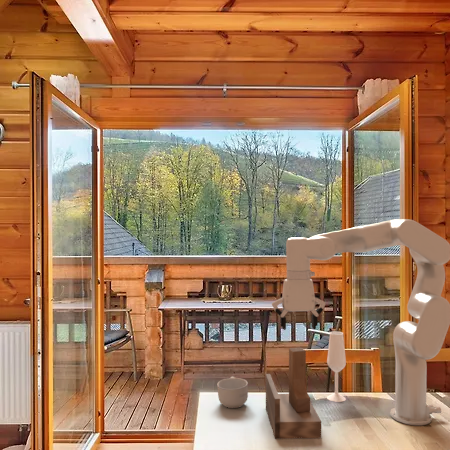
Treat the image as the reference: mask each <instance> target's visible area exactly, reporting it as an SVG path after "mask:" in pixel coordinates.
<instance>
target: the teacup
mask: <svg viewBox="0 0 450 450" xmlns="http://www.w3.org/2000/svg"><path fill="white" fill-rule="evenodd" d="M216 384H217V385H216V386H217V396H218V401H219V402H220V404H222V405H223V406H224V407H225V408H227V407H228V408H227V409H238V408H240V407H242V406H244V404H246V403H247V401H248V397H249V393H248V392H249V387H248V384H249V383H248V381H247V380H246V379H244V378H238V377H235V376H230V378H228V377H227V378H224V379H221V380H219V381H218V382H217V383H216Z"/></svg>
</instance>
